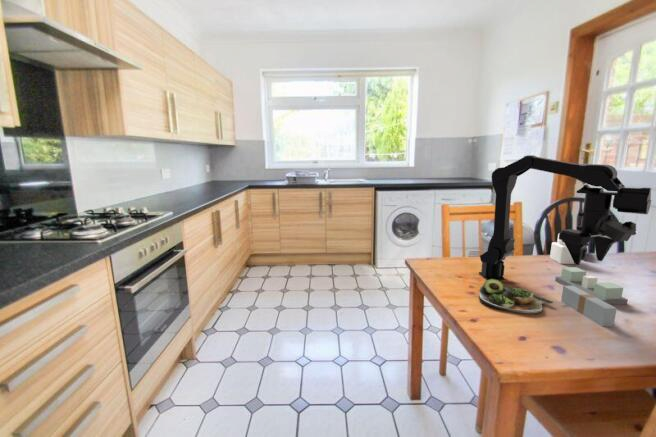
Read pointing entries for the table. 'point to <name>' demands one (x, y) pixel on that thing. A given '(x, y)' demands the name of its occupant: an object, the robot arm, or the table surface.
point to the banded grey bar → (589, 305)
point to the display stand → (592, 286)
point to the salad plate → (509, 297)
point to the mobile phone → (584, 253)
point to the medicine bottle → (560, 253)
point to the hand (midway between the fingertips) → (588, 262)
